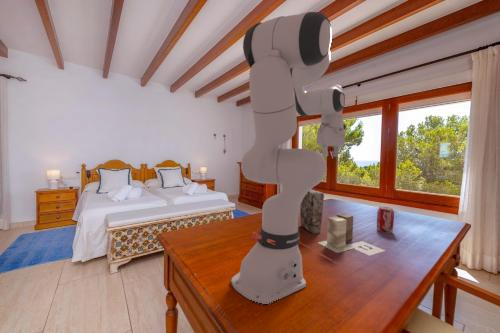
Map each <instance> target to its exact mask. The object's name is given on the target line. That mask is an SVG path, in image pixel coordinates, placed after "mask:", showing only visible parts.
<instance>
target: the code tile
mask: <svg viewBox="0 0 500 333" xmlns="http://www.w3.org/2000/svg"><path fill="white" fill-rule="evenodd" d="M348 245H350V246H352V247H354V250H356V251H358V252H361V253H363V254H365V255H367V256H373V255H376V254H379V253H382V252H386V249H384V248H383V249H382V248H380V247H378V246H375V245H373V244H370V243H368V242H366V241H363V240H362V241H357V242H353V243H348Z"/></svg>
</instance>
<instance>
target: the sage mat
mask: <svg viewBox="0 0 500 333" xmlns="http://www.w3.org/2000/svg"><path fill="white" fill-rule="evenodd" d="M317 244H318V245H320V246H323V247H324V248H327V249H329V250H331V252H332V251H333V252H335V253H337V254H339V253H342V252H346V251H350V250H353V249H354V247H352V246H350V245H349V244H347V243H346V244H345V247H342V248H338V249H336V248H334V247H332V246H330V245H328V244H327V240H322V241H318V242H317ZM354 250H355V249H354Z"/></svg>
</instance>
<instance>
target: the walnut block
mask: <svg viewBox="0 0 500 333" xmlns="http://www.w3.org/2000/svg"><path fill="white" fill-rule="evenodd" d="M336 216H337V217H340V218H343V219H346V220H347V222H346V242H347V241H350V240H353V236H354V235H353V232H354V215H351V214H348V213H345V212H344V213H343V212H342V213H338V214H336Z"/></svg>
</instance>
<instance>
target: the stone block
mask: <svg viewBox="0 0 500 333" xmlns="http://www.w3.org/2000/svg"><path fill="white" fill-rule="evenodd" d="M324 198H325V195H324V192H322V191H319V190H314V189H310V190H309V191H308V193H307V194H306V195H305V197H304V198H303V200H302V202H301V205H300V210H299V217H300V219H299V220H300V227H301V228H303V229H305V230H307V232H310V233H311V234H320V233H321V229H322V222H323V212H324V211H323V209H324Z"/></svg>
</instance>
